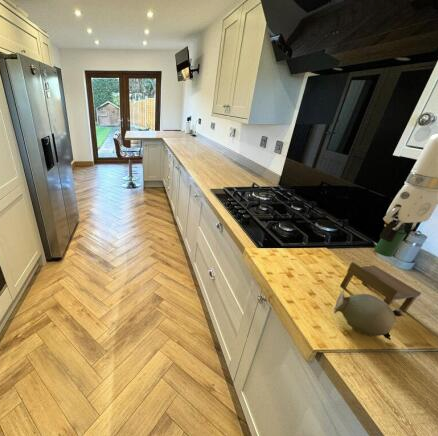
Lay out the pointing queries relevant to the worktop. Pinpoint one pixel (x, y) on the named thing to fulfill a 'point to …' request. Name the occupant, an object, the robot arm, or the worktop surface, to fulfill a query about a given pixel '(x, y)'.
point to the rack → (382, 284)
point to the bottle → (391, 243)
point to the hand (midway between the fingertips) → (391, 238)
